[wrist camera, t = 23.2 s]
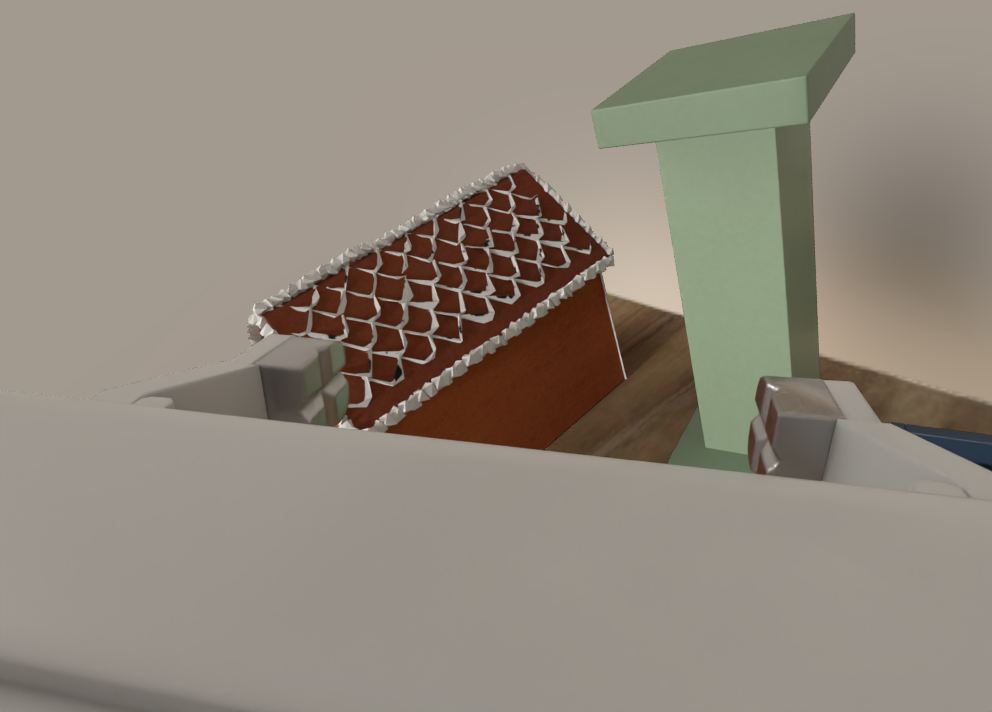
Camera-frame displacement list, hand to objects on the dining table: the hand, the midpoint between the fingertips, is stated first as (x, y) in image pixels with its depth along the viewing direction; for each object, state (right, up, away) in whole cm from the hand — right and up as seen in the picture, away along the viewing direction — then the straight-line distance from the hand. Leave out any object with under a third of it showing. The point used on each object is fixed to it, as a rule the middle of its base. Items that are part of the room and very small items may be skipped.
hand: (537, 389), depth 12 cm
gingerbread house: (-2, -6, +45) cm, 45 cm away
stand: (+18, -6, +33) cm, 38 cm away
